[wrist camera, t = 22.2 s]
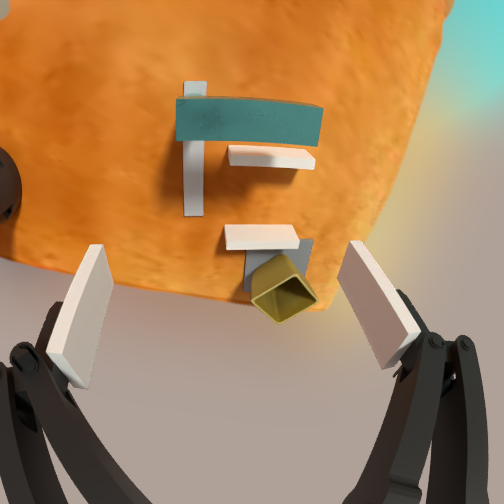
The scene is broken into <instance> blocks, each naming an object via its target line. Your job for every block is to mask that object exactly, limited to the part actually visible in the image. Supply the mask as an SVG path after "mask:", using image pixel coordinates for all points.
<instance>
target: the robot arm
mask: <svg viewBox="0 0 504 504" xmlns="http://www.w3.org/2000/svg"><path fill="white" fill-rule="evenodd" d="M20 201H21V180H20V176H19V172H18V170H17V167H16V165H15V163H14V161H13V159H12V158H11V157H10V155H9V154H8V153H7V152H6V151H5V150H4V149H2V148H0V224H3V223H5V222H6V221H7V220H9V219H10V218H11V216H12V215H13V214H14V213H15V212H16V211H17V209H18V207H19V204H20ZM337 279H338V281H339V283H340V285H341V287H342V289H343V291H344V293H345V294H346V297H347V298H348V300H349V302H350V304H351V306H352V308H353V310H354V312H355V314H356V316H357V318H358V320H359V322H360V324H361V327H362V329H363V331H364V333H365V335H366V337H367V339H368V341H369V343H370V345H371V347H372V350H373V352H374V354H375V356H376V358H377V360H378V362H379V365H380V367H381V369H382V370H383V369H386V368H390V367H394V366H395V365H396V363H397V362H398V361H399V360H400V361H401V363H402V365H401V366H400V368H399V369H398V370H397V371H396V372H395V373H394V375H393V377H395V376H396V375H397V374H398V376H397V379H396V383H395V387H394V390H393V393H392V397H391V400H390V403H389V406H388V409H387V412H386V416H385V418H384V421H383V424H382V426H381V429H380V432H379V435H378V437H377V440H376V442H375V445H374V447H373V450H372V452H371V455H370V457H369V459H368V461H367V464H366V466H365V468H364V470H363V473H362V475H361V477H360V479H359V481H358V483H357V485H356V487H355V488H354V489H353V490H352V491H351V492H350V493H349V494H348V496H347V497H346V498H345V500H344V501H343V503H342V504H419V502H420V500H421V496H422V490H421V489H420V488H419V487H418V484H419V480H420V477H421V474H422V471H423V468H424V465H425V461H426V458H427V454H428V451H429V447H430V443H431V440H432V447H431V462H430V463H431V464H430V474H429V482H428V491H427V498H426V504H489V498H488V493H487V482H488V431H487V418H486V408H485V400H484V392H483V385H482V379H481V373H480V368H479V363H478V358H477V353H476V349H475V345H474V343H473V341H472V340H471V339H470V338H469V337H467V336H465V335H460V336H458V338H457V339H456V340H455V341H444V339H443V338H442V337H441V336H440V335H439V334H437V333H434V332H430V331H429V330H428V329H427V327H426V325H425V323H424V322H423V320H422V319H421V317H420V315H419V314H418V312H417V311H416V310H415V308H414V306H413V305H412V303H411V302H410V300H409V298H408V297H407V296H406V295H405V294H404V293H403V292H402V291H401V290H399V289H398V290H395V289H394V287H393V286H392V284H391V283H390V281H389V280H388V278H387V277H386V275H385V274H384V272H383V271H382V269H381V268H380V267H379V265H378V264H377V262H376V261H375V260H374V258H373V257H372V255H371V254H370V253H369V251H368V250H367V248H366V247H365V246H364V244H363V243H362V242H361V241H349V244H348V247H347V250H346V253H345V256H344V259H343V262H342V265H341V268H340V271H339V274H338V277H337ZM113 286H114V282H113V279H112V275H111V272H110V269H109V265H108V261H107V258H106V254H105V250H104V246H103V244H95V245H90V246H89V248H88V250H87V252H86V254H85V256H84V258H83V260H82V262H81V264H80V266H79V269H78V271H77V273H76V275H75V277H74V279H73V282H72V284H71V286H70V288H69V291H68V293H67V296H66V298H65V300H64V302H56V303H55V304H54V305H53V306H52V307H51V308H50V309H49V312H48V314H47V317H46V320H45V322H44V324H43V328H42V329H41V332H40V335H39V337H38V340H37V343H36V346H35V348H34V347H33V345H32V344H30V343H29V342H21V343H19V344H17V345H16V346H15V347H14V348H13V349H12V351H11V353H10V357H9V358H10V363H11V364H12V366H13V367H9V368H7V367H6V366H5V365H4V364H3V363H2V362H0V477H1V480H2V483H3V486H4V490H5V493H6V496H7V499H8V502H9V504H68V502H67V500H66V497H65V495H64V493H63V490H62V488H61V485H60V483H59V481H58V478H57V475H56V472H55V470H54V467H53V464H52V461H51V458H50V454H49V451H48V448H47V445H46V441H45V437H44V434H43V430H44V432H45V434H46V436H47V438H48V440H49V442H50V444H51V446H52V448H53V449H54V451H55V453H56V455H57V457H58V458H59V460H60V462H61V463H62V465H63V467H64V468H65V470H66V472H67V473H68V475H69V476H70V478H71V479H72V481H73V482H74V484H75V485H76V487H77V488H78V490H79V491H80V493H81V494H82V495H83V497H84V498H85V499H86V501H87V502H88V503H89V504H152V503H151V502H150V501H149V500H148V499H147V498H146V497H145V496H144V494H143V493H142V492H141V491H140V490H139V489H138V488H137V487H136V486H135V485H134V483H133V482H132V481H131V480H130V479H129V478H128V476H127V475H126V474H125V473H124V472H123V470H122V469H121V468H120V467H119V465H118V464H117V463H116V462H115V460H114V459H113V458H112V456H111V455H110V454H109V452H108V451H107V450H106V449H105V447H104V445H103V444H102V443H101V441H100V440H99V438H98V437H97V435H96V434H95V432H94V431H93V429H92V428H91V426H90V425H89V423H88V422H87V420H86V418H85V417H84V415H83V414H82V412H81V410H80V409H79V407H78V405H77V403H76V402H75V400H74V398H73V396H72V394H71V393H70V391H69V390H68V389H67V387H68V383H69V382H70V383H71V384H72V385H73V387H76V388H82V389H89V386H90V380H91V375H92V370H93V365H94V360H95V355H96V351H97V346H98V342H99V338H100V334H101V330H102V326H103V322H104V318H105V314H106V310H107V307H108V303H109V300H110V296H111V293H112V290H113ZM454 374H456V379H454V376H453V375H454ZM42 428H43V430H42Z"/></svg>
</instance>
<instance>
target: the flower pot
mask: <svg viewBox="0 0 504 504" xmlns="http://www.w3.org/2000/svg"><path fill="white" fill-rule="evenodd" d="M251 302H252V303H253V304H254V305H255V306H256V307H257V308H258V309H259V310H261V311H262V312H263V313H264V314H265V315H267V316H268V317H269V318H270V319H271V320H272V321H273V322H275V323H276V324H278V325H279V324H281V323H283V322H285V321H287V320H288V319H290V318H292V317H294V316H296V315H297V314H299V313H301V312H303V311H305V310H306V309H308V308H310V307H312V306H313V305H315V304H316V303H318V302H319V299H318V298H317V296H316V294H315V293H314V291H313V289H312V287H311V286H310V284H309V282H308V281H307V280H306V278H305V277H304V276H303V275H302V274H301V272H300V271H299V270H298V269H297V268H296V266H295V265H294V264H293V263H292V261H291V260H290V259H289V258H288V257H287V256H286V255H285V254H278V255H276V256H275V257H273V258H272V259H270V260H268V261H267V262H265V263H264V264H262V265H260V266H259V267H258V268H257V269H256V271H255V272H254V274H253V276H252V279H251Z"/></svg>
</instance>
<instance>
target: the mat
mask: <svg viewBox="0 0 504 504" xmlns="http://www.w3.org/2000/svg"><path fill="white" fill-rule="evenodd" d="M299 240H300V243H299V247H298V249H254V250H246V260H245V272H244V283H243V292H251V279H252V276H253V274H254V272H255V271H256V269H257V268H258V267H259V266H260V265H262V264H264V263H265V262H267V261H268V260H270V259H272V258H273V257H275V256H276V255H278V254H285V255H286V256H287V257H288V258H289V259H290V260H291V261H292V263H293V264H294V265H295V266H296V268H297V269H298V270H299V271H300V272H301V274H302V275H303V276H304V277H305V273H306V269H307V265H308V261H309V257H310V253H311V249H312V245H313V239H299Z"/></svg>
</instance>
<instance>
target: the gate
mask: <svg viewBox="0 0 504 504" xmlns="http://www.w3.org/2000/svg"><path fill="white" fill-rule="evenodd" d="M322 115H323V108H321V107H319V106H316V105H313V104H308V103H300V102H293V101H284V100H274V99H263V98H249V97H228V96H202V94H187V95H186V96H181V97H178V98H177V99H176V141H248V142H268V143H283V144H295V145H306V146H315V147H317V146H318V140H319V134H320V128H321V121H322Z"/></svg>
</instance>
